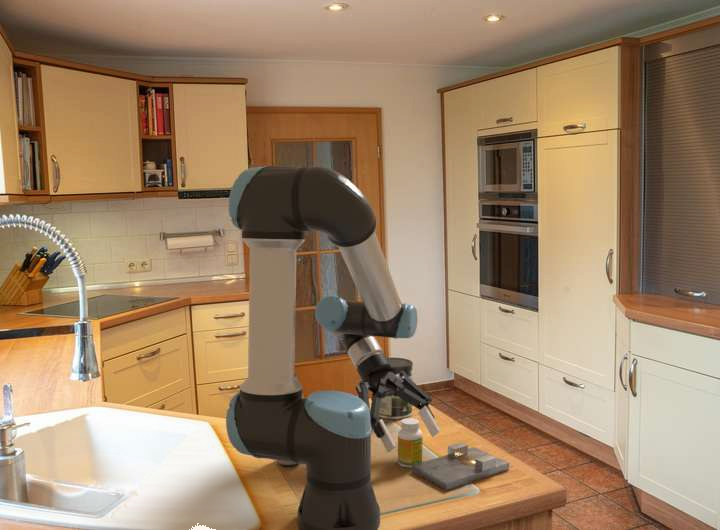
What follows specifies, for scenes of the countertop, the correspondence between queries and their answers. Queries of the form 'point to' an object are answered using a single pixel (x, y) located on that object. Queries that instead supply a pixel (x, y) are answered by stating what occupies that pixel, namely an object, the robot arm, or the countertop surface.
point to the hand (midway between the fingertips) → (415, 441)
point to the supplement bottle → (409, 443)
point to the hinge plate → (460, 466)
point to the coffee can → (391, 404)
